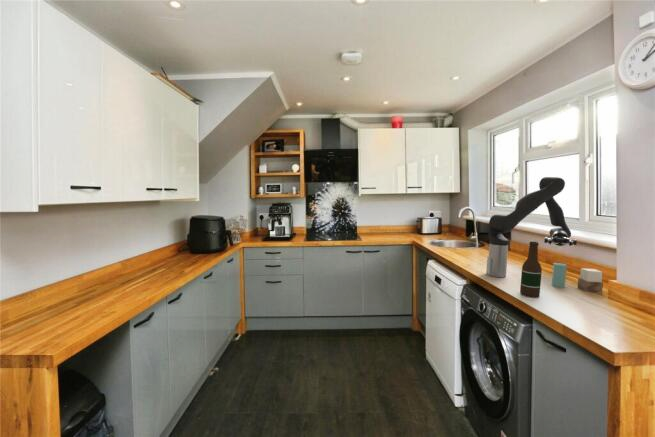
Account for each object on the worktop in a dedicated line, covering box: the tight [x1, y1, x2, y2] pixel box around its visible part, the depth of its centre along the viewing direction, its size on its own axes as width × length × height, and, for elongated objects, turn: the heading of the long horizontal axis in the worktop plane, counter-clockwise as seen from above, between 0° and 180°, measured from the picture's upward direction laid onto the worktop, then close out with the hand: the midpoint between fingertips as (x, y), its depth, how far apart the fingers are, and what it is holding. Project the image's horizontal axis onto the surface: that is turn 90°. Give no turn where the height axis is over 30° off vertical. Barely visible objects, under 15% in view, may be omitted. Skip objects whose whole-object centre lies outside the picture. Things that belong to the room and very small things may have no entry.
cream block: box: [579, 267, 603, 283], centre depth 163 cm, size 6×6×5 cm
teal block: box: [551, 262, 567, 288], centre depth 170 cm, size 5×5×11 cm
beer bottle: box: [519, 241, 542, 299], centre depth 151 cm, size 8×8×24 cm
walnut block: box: [577, 277, 604, 294], centre depth 164 cm, size 7×7×5 cm
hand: (560, 243), depth 177 cm, fingers open, 8 cm apart
